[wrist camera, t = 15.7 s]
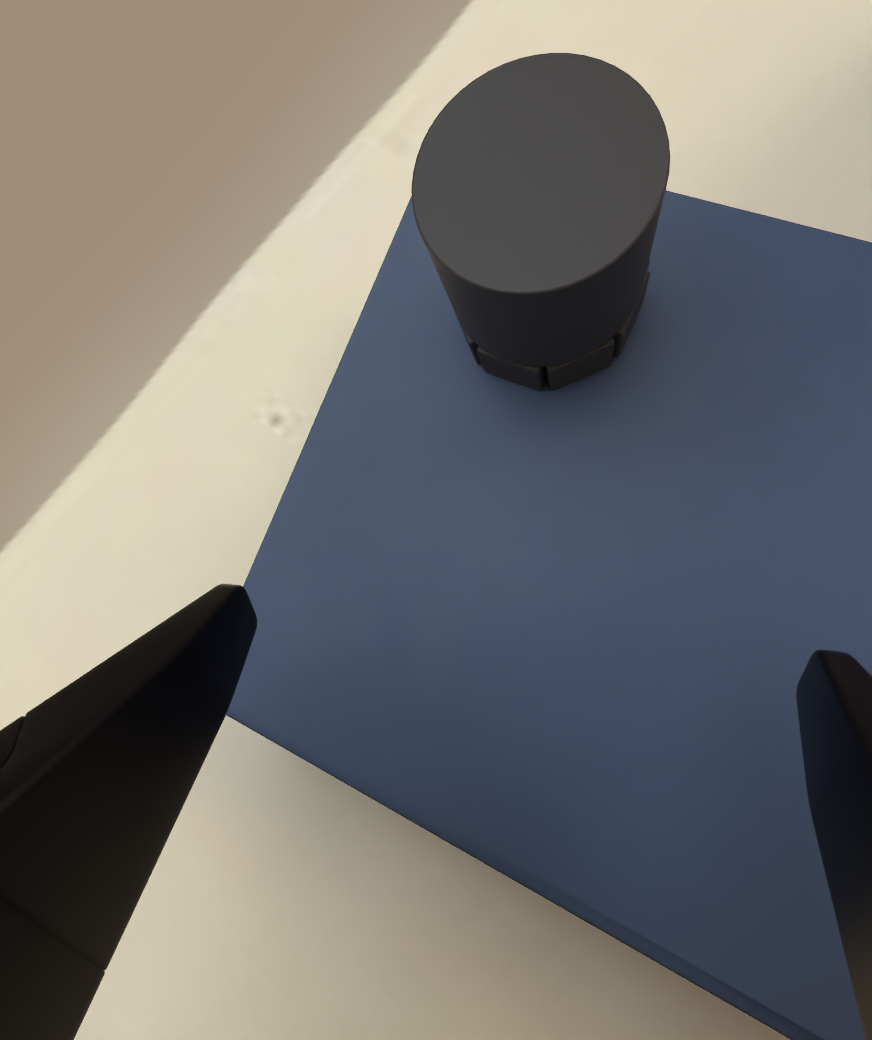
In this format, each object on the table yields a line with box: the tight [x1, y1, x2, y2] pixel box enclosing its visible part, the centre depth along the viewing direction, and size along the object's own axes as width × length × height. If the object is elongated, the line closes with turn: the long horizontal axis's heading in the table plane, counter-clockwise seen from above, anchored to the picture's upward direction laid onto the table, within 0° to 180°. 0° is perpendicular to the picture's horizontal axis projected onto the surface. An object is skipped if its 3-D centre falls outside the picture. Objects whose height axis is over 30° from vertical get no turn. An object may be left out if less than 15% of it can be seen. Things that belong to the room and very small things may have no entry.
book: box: [226, 191, 872, 1040], centre depth 15 cm, size 16×20×4 cm
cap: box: [412, 53, 670, 391], centre depth 12 cm, size 4×4×5 cm
